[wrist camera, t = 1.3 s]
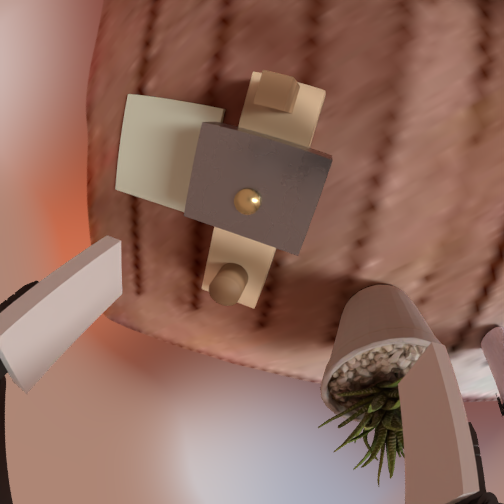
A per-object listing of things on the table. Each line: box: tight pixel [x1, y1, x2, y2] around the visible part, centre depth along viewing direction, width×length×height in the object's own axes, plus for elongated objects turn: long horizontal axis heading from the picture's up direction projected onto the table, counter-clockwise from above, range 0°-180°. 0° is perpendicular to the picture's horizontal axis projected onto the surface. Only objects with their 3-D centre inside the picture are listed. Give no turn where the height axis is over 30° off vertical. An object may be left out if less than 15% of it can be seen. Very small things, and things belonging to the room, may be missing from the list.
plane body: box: [202, 70, 325, 309], centre depth 25 cm, size 22×6×10 cm, turn 165°
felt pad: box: [115, 94, 226, 212], centre depth 29 cm, size 12×12×1 cm
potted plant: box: [318, 285, 441, 485], centre depth 23 cm, size 13×14×20 cm
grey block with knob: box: [184, 122, 332, 256], centre depth 23 cm, size 8×10×3 cm
